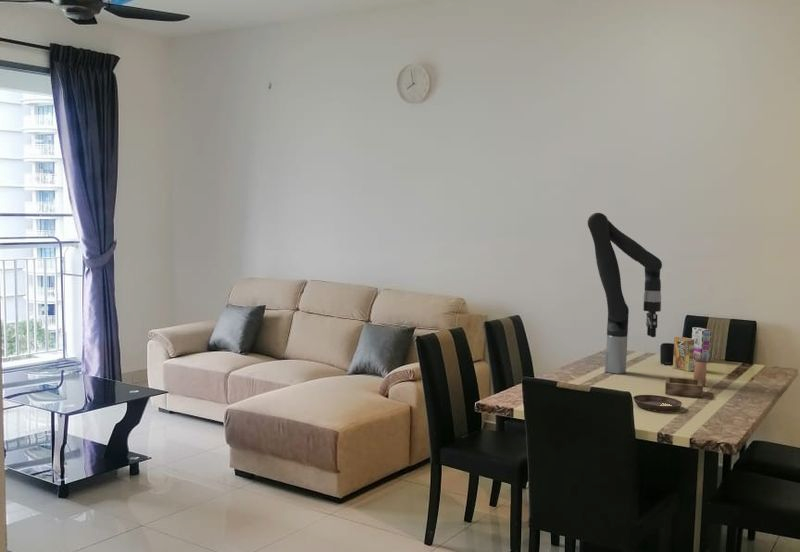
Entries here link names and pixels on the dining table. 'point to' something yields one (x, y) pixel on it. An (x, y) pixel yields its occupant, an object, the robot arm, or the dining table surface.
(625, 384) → the dining table surface
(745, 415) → the dining table surface
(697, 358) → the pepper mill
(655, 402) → the plant saucer
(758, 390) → the dining table surface
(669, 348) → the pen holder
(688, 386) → the bin
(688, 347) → the candy box
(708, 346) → the candy bar box
